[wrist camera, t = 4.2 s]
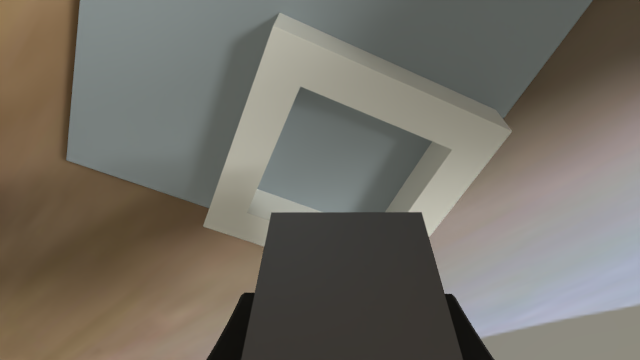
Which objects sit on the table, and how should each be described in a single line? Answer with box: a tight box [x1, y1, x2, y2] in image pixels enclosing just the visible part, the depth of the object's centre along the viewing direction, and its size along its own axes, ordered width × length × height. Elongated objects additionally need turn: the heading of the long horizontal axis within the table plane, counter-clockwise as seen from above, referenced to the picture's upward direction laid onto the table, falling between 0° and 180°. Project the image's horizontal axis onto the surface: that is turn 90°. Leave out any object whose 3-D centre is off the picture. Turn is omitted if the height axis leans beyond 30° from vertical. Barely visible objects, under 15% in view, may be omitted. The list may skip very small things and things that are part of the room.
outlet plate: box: [66, 0, 593, 246], centre depth 15 cm, size 16×16×3 cm
